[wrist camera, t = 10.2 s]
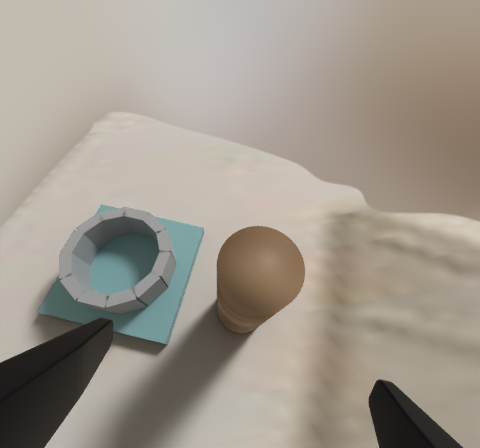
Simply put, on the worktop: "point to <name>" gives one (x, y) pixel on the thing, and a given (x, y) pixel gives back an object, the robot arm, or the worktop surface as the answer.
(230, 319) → the walnut peg
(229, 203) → the worktop surface
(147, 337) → the ring stand
